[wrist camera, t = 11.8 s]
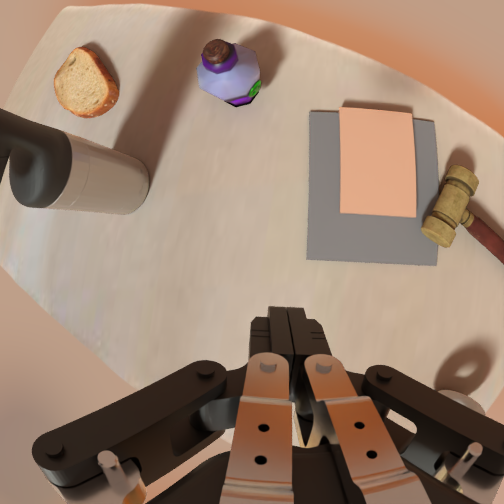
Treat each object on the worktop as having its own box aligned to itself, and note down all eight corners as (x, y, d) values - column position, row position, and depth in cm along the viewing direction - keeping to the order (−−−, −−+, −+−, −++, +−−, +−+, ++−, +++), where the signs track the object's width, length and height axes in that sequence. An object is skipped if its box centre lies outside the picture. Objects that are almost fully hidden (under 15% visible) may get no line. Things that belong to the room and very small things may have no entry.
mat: (306, 259, 41) (306, 259, 40) (309, 113, 40) (309, 111, 39) (434, 265, 37) (436, 265, 37) (432, 123, 36) (434, 122, 36)
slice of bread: (117, 112, 46) (105, 105, 43) (50, 131, 50) (38, 127, 46) (132, 32, 45) (122, 23, 42) (66, 58, 49) (55, 51, 45)
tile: (340, 212, 38) (339, 107, 37) (339, 213, 39) (338, 111, 38) (416, 217, 36) (411, 113, 35) (412, 218, 37) (408, 117, 36)
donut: (473, 391, 36) (499, 421, 27) (463, 409, 37) (486, 441, 27) (427, 380, 38) (449, 412, 28) (416, 399, 39) (435, 434, 29)
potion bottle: (262, 119, 41) (242, 81, 30) (205, 114, 43) (171, 79, 31) (274, 69, 40) (259, 22, 29) (219, 65, 42) (191, 23, 30)
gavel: (547, 249, 30) (522, 309, 31) (530, 247, 35) (505, 302, 36) (460, 161, 31) (429, 229, 32) (445, 166, 36) (414, 228, 37)
